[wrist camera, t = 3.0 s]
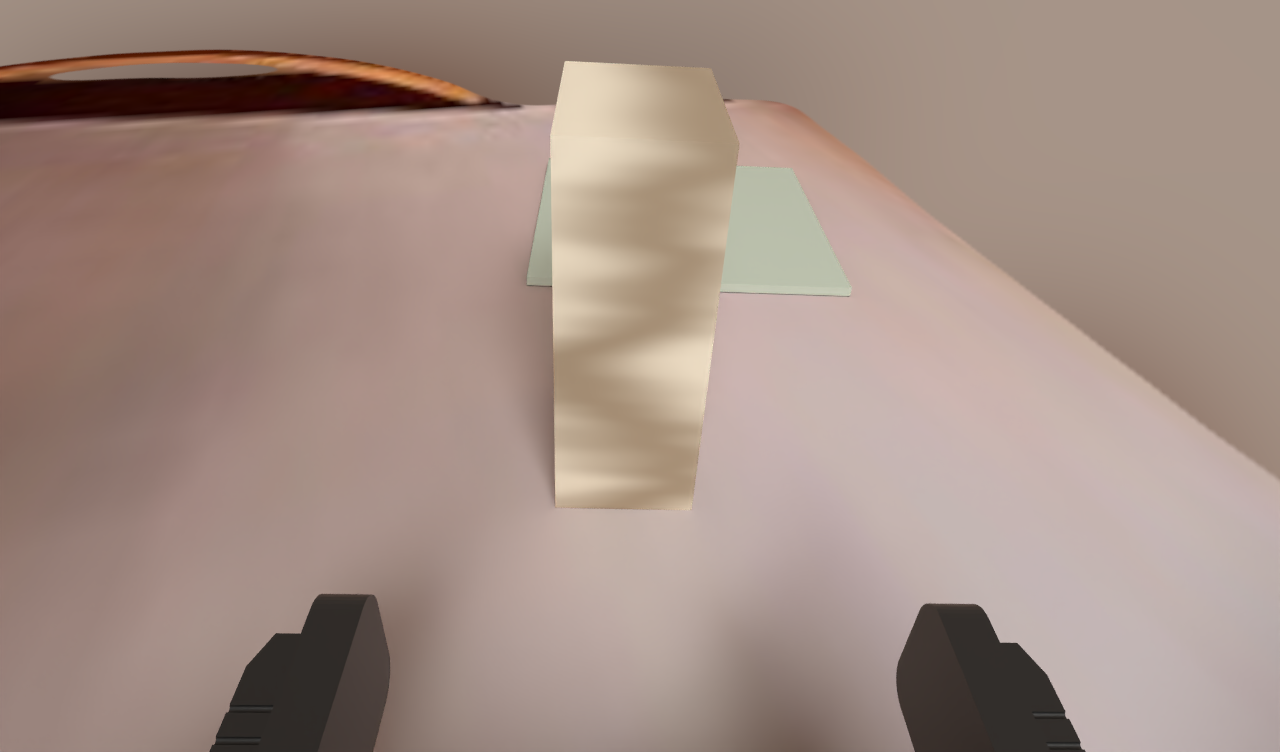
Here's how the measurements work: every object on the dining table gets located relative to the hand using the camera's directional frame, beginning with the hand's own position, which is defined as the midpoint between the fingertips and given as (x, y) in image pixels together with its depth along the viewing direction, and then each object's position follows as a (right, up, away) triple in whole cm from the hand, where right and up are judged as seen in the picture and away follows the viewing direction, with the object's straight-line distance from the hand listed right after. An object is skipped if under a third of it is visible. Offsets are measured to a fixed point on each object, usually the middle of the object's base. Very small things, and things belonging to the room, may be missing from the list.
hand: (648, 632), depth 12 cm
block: (-1, +2, +14) cm, 14 cm away
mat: (+2, +12, +28) cm, 30 cm away
